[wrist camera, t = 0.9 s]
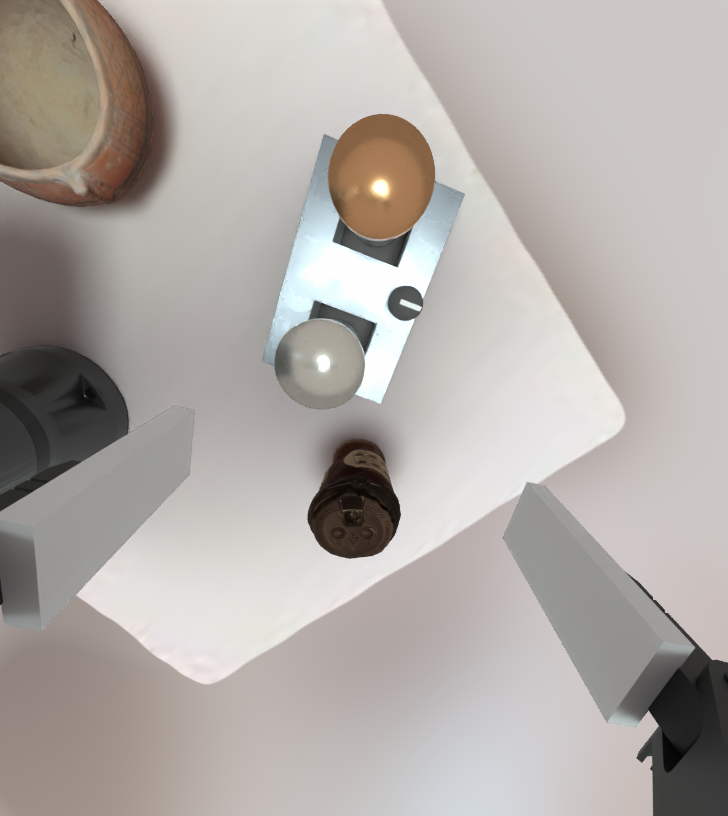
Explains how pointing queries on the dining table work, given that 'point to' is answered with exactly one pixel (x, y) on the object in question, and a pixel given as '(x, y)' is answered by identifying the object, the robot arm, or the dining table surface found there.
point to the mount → (358, 274)
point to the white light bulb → (320, 363)
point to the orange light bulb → (381, 178)
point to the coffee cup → (355, 503)
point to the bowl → (70, 103)
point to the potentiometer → (405, 303)
